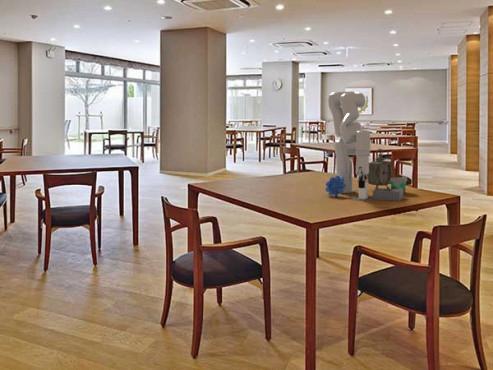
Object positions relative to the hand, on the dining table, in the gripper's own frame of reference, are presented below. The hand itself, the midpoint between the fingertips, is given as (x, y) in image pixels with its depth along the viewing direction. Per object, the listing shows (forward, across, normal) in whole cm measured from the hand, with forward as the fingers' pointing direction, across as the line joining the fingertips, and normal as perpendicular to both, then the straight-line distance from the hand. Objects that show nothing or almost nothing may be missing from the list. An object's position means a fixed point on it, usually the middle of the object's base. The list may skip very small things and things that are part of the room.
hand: (363, 186), depth 265 cm
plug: (+6, 0, 0) cm, 6 cm away
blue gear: (+7, -8, -18) cm, 21 cm away
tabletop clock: (+7, -35, 0) cm, 36 cm away
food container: (+7, -24, +15) cm, 29 cm away
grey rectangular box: (+7, -6, +12) cm, 15 cm away
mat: (+7, 0, 0) cm, 7 cm away
